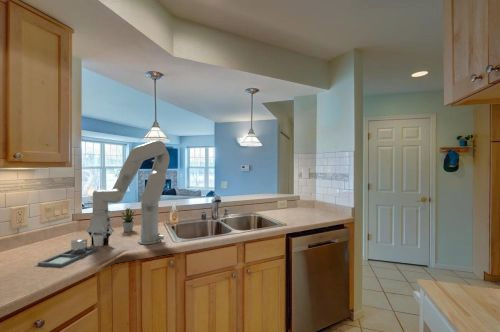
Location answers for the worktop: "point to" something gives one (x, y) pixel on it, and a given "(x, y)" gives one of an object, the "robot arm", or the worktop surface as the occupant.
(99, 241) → the white cylinder
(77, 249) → the block
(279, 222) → the worktop surface
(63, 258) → the divided tray
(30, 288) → the worktop surface
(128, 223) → the house plant
